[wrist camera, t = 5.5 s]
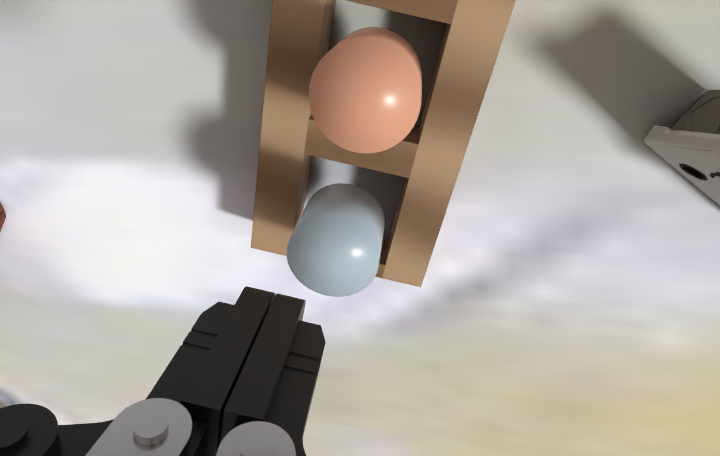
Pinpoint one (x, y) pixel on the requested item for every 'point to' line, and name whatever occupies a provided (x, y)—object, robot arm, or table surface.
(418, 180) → the wooden egg rack
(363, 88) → the pink rounded piece
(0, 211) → the wooden figurine
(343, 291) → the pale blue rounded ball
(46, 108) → the table surface
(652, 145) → the electrical switch
